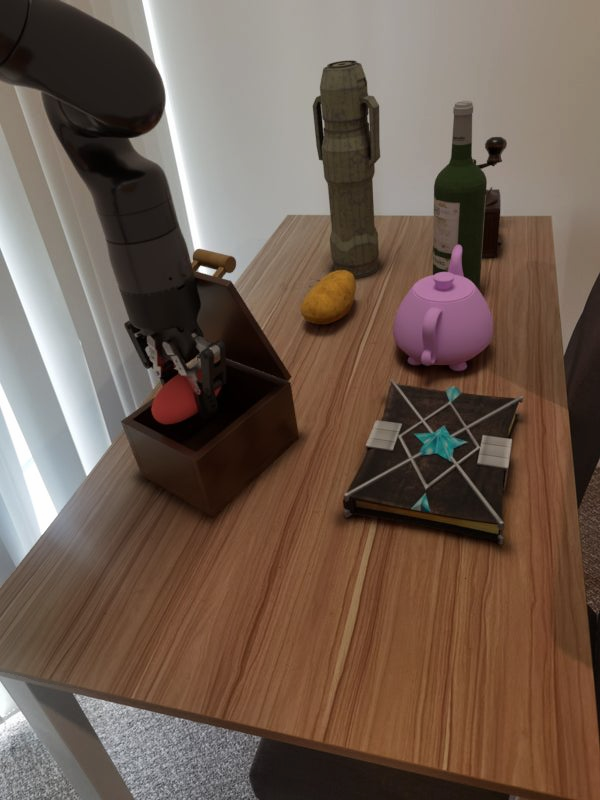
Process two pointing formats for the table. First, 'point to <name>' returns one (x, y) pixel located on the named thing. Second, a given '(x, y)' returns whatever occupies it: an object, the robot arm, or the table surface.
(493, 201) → the coffee grinder
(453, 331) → the teapot
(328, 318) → the potato
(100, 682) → the table surface
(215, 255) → the lid
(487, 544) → the table surface
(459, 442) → the book
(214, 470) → the chest
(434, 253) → the wine bottle
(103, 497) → the table surface
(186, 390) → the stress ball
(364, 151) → the tall handled vase
